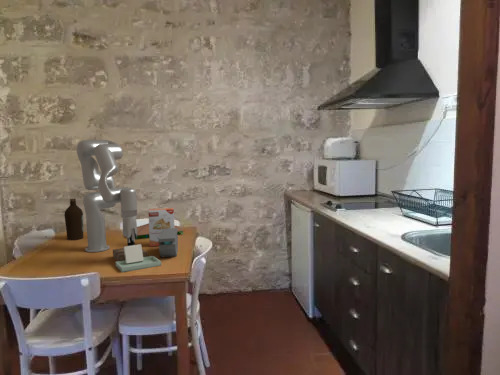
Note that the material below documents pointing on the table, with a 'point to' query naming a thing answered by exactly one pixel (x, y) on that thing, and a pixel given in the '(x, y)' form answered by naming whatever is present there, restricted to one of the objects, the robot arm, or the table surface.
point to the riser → (119, 254)
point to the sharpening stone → (168, 242)
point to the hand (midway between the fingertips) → (131, 250)
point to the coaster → (133, 254)
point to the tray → (138, 264)
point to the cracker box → (159, 223)
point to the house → (145, 230)
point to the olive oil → (74, 221)
